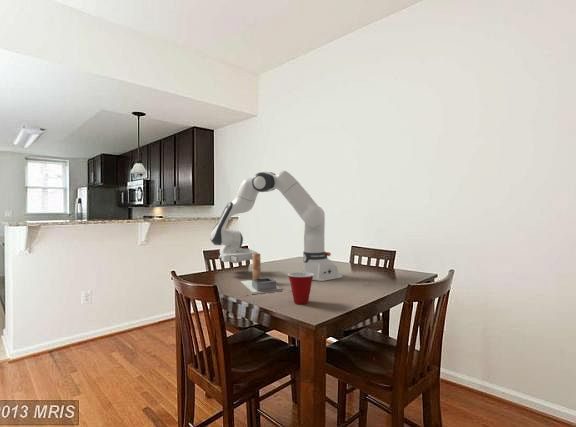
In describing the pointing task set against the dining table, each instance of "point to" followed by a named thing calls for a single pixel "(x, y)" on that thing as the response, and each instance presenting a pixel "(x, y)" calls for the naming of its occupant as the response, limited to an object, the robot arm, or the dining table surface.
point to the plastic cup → (301, 286)
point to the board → (261, 285)
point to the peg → (256, 266)
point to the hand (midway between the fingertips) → (245, 258)
